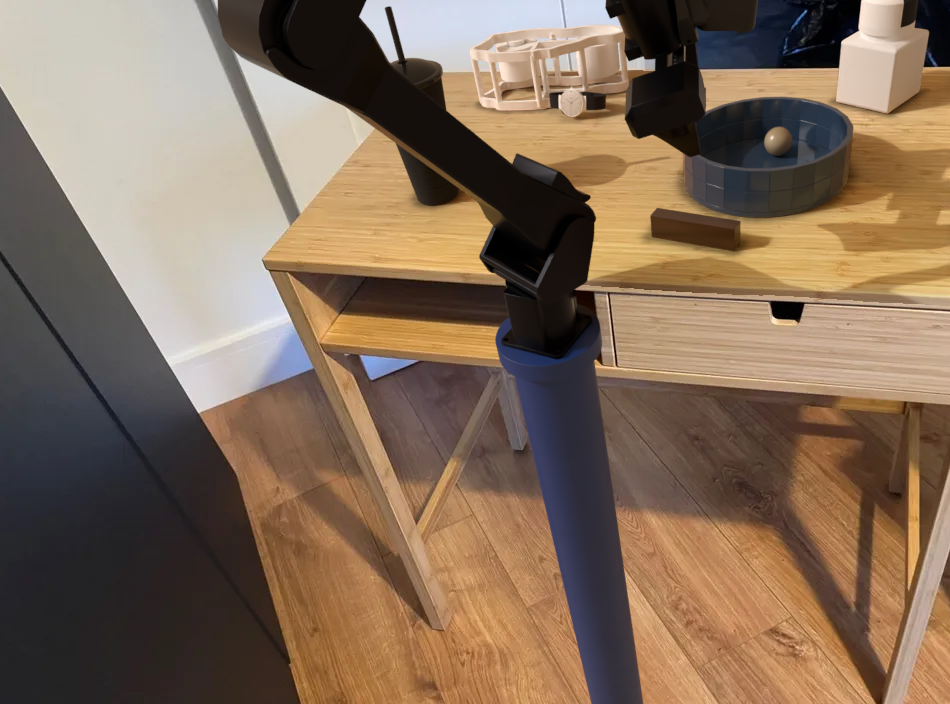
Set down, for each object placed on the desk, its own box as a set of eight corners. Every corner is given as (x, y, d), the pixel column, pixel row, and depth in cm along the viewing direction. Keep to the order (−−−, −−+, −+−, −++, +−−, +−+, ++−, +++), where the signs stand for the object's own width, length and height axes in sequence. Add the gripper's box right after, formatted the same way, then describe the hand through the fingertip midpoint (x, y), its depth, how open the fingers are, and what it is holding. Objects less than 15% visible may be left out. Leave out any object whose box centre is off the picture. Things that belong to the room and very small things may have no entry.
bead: (786, 162, 89) (787, 135, 86) (759, 159, 90) (760, 132, 88) (795, 150, 90) (797, 123, 88) (769, 146, 92) (770, 120, 89)
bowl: (818, 229, 80) (822, 180, 76) (658, 203, 87) (655, 159, 83) (867, 149, 90) (873, 104, 86) (720, 133, 97) (720, 90, 93)
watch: (544, 117, 105) (540, 89, 103) (559, 102, 108) (555, 74, 106) (600, 120, 103) (596, 91, 100) (613, 104, 106) (610, 76, 103)
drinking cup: (393, 209, 93) (334, 21, 79) (426, 177, 98) (376, -6, 84) (451, 214, 90) (400, 21, 76) (482, 181, 95) (440, -7, 81)
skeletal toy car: (635, 73, 113) (631, 15, 108) (621, 107, 105) (616, 47, 100) (498, 79, 117) (487, 24, 112) (475, 112, 110) (463, 55, 105)
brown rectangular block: (734, 251, 79) (734, 229, 77) (651, 236, 82) (650, 215, 81) (740, 242, 79) (740, 220, 78) (658, 228, 83) (656, 207, 81)
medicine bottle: (867, 81, 102) (879, -26, 94) (920, 92, 98) (938, -18, 89) (834, 102, 99) (844, -6, 90) (887, 115, 95) (903, 2, 86)
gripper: (742, 5, 56) (788, 169, 68) (735, -147, 64) (777, 24, 77) (592, 57, 60) (661, 202, 73) (604, -92, 69) (664, 61, 81)
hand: (695, 118), depth 76 cm, fingers open, 9 cm apart
